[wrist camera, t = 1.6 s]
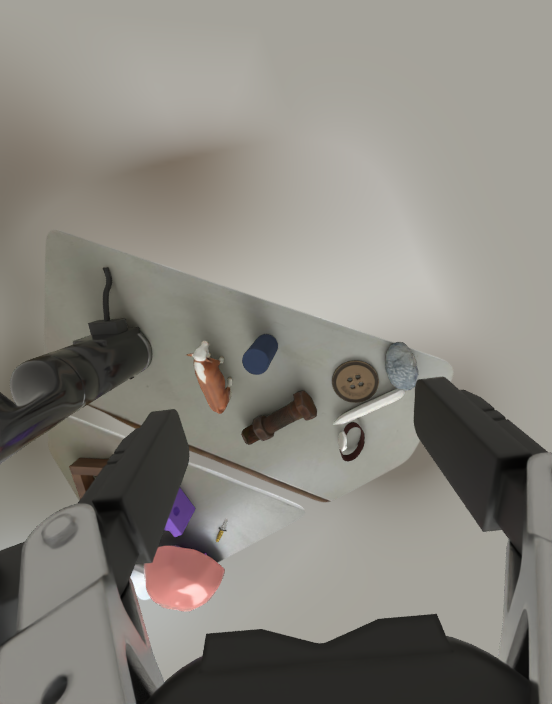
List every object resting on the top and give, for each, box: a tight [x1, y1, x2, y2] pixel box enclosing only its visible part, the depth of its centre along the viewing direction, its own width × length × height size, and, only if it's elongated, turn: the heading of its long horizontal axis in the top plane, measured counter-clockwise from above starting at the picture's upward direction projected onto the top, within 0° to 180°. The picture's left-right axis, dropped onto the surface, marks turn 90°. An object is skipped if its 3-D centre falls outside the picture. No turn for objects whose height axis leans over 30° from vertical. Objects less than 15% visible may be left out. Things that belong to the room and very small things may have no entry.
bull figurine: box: [187, 341, 233, 414], centre depth 53 cm, size 4×13×8 cm, turn 12°
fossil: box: [385, 342, 418, 390], centre depth 49 cm, size 8×4×5 cm
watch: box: [338, 422, 365, 461], centre depth 55 cm, size 8×5×4 cm, turn 173°
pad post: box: [242, 334, 278, 375], centre depth 49 cm, size 4×4×9 cm
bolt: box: [241, 391, 317, 445], centre depth 55 cm, size 6×5×15 cm
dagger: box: [216, 519, 228, 542], centre depth 69 cm, size 11×1×2 cm
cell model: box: [144, 545, 225, 611], centre depth 69 cm, size 17×20×11 cm
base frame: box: [69, 458, 109, 499], centre depth 69 cm, size 10×10×3 cm
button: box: [332, 361, 379, 403], centre depth 53 cm, size 8×8×1 cm
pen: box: [333, 389, 405, 424], centre depth 53 cm, size 2×14×2 cm, turn 122°
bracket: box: [164, 488, 195, 537], centre depth 66 cm, size 12×7×7 cm, turn 120°
